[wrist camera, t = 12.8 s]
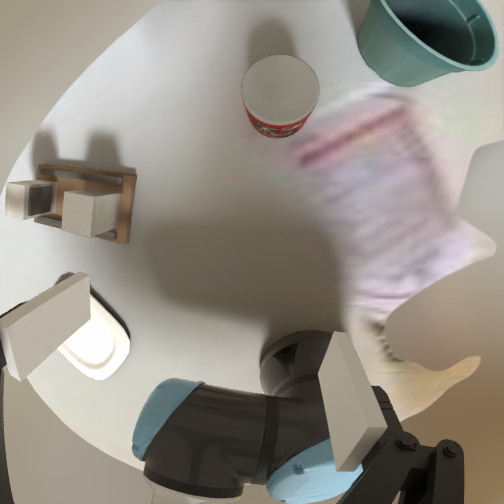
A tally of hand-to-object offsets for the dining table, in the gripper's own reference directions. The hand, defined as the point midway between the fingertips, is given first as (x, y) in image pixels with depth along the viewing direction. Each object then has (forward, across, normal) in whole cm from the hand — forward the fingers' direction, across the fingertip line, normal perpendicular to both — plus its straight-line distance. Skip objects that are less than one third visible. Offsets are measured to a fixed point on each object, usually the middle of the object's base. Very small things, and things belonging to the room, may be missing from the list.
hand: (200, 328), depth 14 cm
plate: (+27, -26, -24) cm, 45 cm away
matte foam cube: (+26, -21, 0) cm, 33 cm away
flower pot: (+27, +16, +32) cm, 45 cm away
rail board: (+27, -27, 0) cm, 38 cm away
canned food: (+27, +1, +17) cm, 32 cm away
